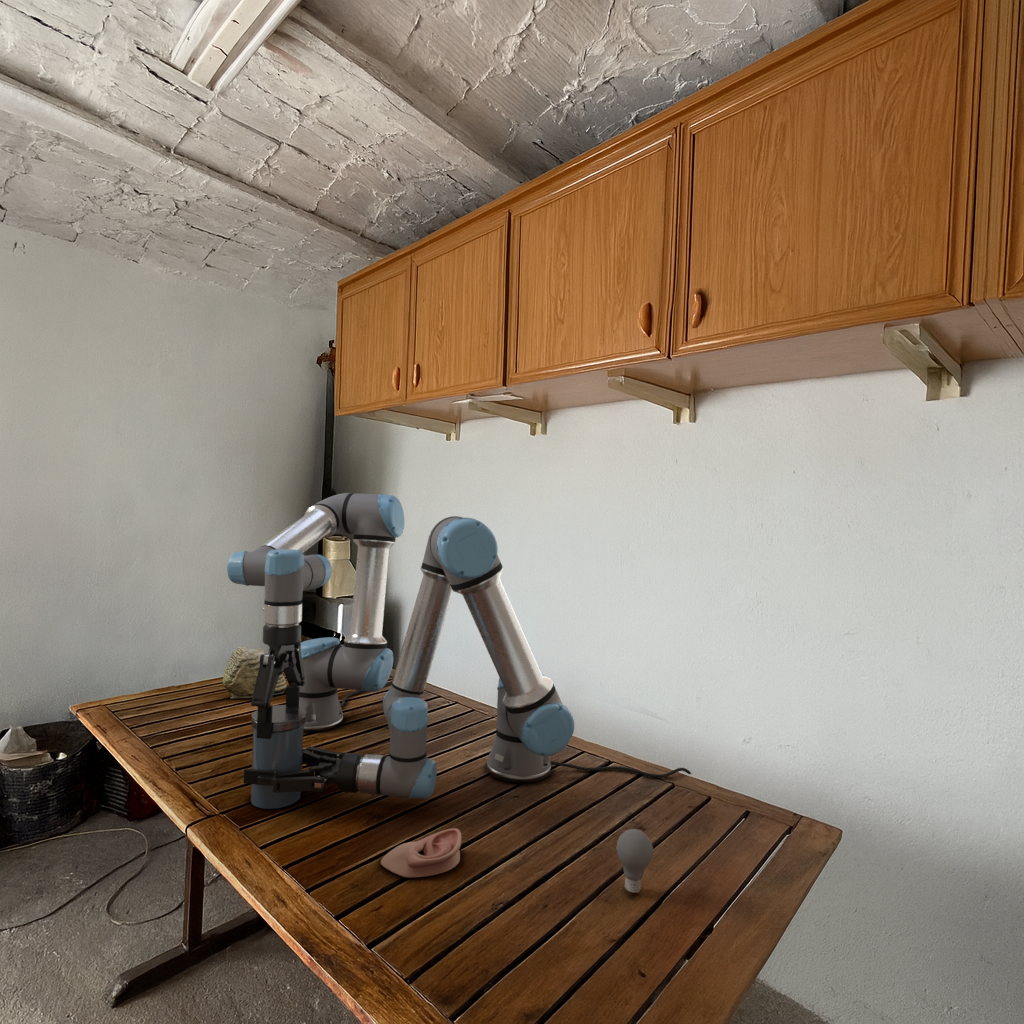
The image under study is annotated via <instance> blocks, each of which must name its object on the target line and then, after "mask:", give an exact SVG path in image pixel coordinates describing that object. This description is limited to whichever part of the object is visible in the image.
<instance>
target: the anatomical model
mask: <svg viewBox="0 0 1024 1024" xmlns="http://www.w3.org/2000/svg"><path fill="white" fill-rule="evenodd" d="M461 846H462V832H461V830H460V829H458V828H455V827H454V828H453V827H452V828H448V829H443V830H440V831H437V832H435V833H433V834H430V835H428V836H426V837H424V838H421V839H419V840H416V841H409V842H404V843H402V844H399V845H397V846H396V847H394V848H392V849H391V850H389V851H388V852H387V853H386V854H385V855H384V856H383V857H382V858H381V860H380V865H381V866H382V867H383V868H384V869H386V870H388V871H390V872H391V873H393V874H395V875H398V876H400V877H402V878H408V879H409V878H423V877H431V876H435V875H439V874H443V873H446V872H449V871H450V870H452V869H454V868H456V867H457V866H458V864H459V863H460V861H461V852H460V849H461Z"/></svg>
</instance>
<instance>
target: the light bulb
mask: <svg viewBox="0 0 1024 1024" xmlns="http://www.w3.org/2000/svg"><path fill="white" fill-rule="evenodd" d="M615 849H616V854H617V857H618V859H619V861H620V863H621V865H622V867H623V873H624V874H623V875H624V876H625V878H624V888H625V890H627V891H628V892H630V893H634V894H635V893H639V892H640V891H641V889H642V887H641V886H642V879H643V877H644V875H645V871H646V868H647V867H648V866H649V864H650V863H651V861H652V859H653V855H654V847H653V843H652V841H651V838H649V836H648V835H647V834H646V833H645V832H643V831H642V830H641V829H636V828H629V829H627V830H625V831H623V832H622V833H621V834H620V835H619V837H618V839H617V841H616V847H615Z"/></svg>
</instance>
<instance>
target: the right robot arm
mask: <svg viewBox="0 0 1024 1024" xmlns="http://www.w3.org/2000/svg"><path fill="white" fill-rule="evenodd" d="M498 549H499V548H498V541H497V539H496V536H495V534H494V533H493V531H492V530H491V529H490V528H489V527H488V525H486V524H485V523H484V522H482V521H480V520H477V519H475V518H472V517H463V516H457V515H456V516H455V515H453V516H448V517H444V518H442V519H441V520H439V521H438V522H437V523H436V524H435V525H434V526H433V527H432V529H431V531H430V533H429V535H428V538H427V543H426V546H425V551H424V555H423V559H422V563H421V566H420V571H421V573H422V579H421V581H420V586H419V589H418V592H417V594H416V595H417V596H416V599H415V602H414V606H413V609H412V613H411V616H410V620H409V622H408V626H407V630H406V633H405V636H404V640H403V643H402V646H401V650H400V653H399V655H398V660H397V663H396V666H395V670H394V672H393V673H394V674H393V677H392V679H391V681H392V683H391V684H390V687H389V690H387V692H386V693H385V694H384V697H383V700H382V712H383V714H384V718H385V719H386V723H387V726H388V730H389V752H388V753H389V755H384V754H383V755H382V754H369V753H366V754H364V755H363V754H362V753H355V752H341V751H334V750H329V749H325V748H322V747H321V748H320V747H316V746H312V745H308V746H306V748H303V758H302V766H303V765H306V766H308V767H309V768H307V769H302V770H301V771H293V772H286V773H278V772H277V770H275V771H269V770H257V769H252V768H244V770H243V784H246V785H251V784H256V785H268V786H273V792H274V793H280V792H301V793H302V792H317V793H323V792H325V786H327V785H336V786H337V789H338V791H339V792H340V793H350V794H357V793H358V792H359V794H365V795H371V796H373V797H375V796H376V795H379V796H387V797H400V798H407V799H428V798H430V797H431V796H432V795H433V793H434V791H435V787H436V782H437V775H438V769H437V762H436V761H435V760H434V759H431V758H429V757H427V740H428V739H427V738H428V724H429V723H428V722H429V711H428V709H429V708H428V703H427V701H426V700H424V699H423V696H424V692H425V688H426V685H427V682H428V678H429V675H430V672H431V668H432V665H433V661H434V658H435V655H436V651H437V648H438V645H439V642H440V638H441V634H442V632H443V627H444V624H445V620H446V617H447V614H448V611H449V608H450V604H451V600H452V598H453V594H454V592H455V593H456V594H460V595H462V597H463V599H464V602H465V603H466V606H467V608H468V610H469V613H470V615H471V617H472V619H473V621H474V624H475V626H476V628H477V630H478V632H479V635H480V637H481V639H482V642H483V644H484V646H485V648H486V650H487V653H488V655H489V657H490V659H491V661H492V664H493V666H494V668H495V671H496V673H497V675H498V677H499V678H498V684H497V687H496V689H497V701H496V703H497V704H496V726H495V727H496V729H495V730H496V731H495V738H494V741H493V744H492V746H491V749H490V751H489V753H488V757H487V761H486V770H487V773H489V775H491V776H492V777H493V778H495V779H497V780H500V781H502V782H507V783H512V784H532V783H533V784H534V783H538V782H540V781H543V780H546V779H547V778H548V777H549V776H550V775H551V773H552V771H551V770H552V765H554V766H559V767H566V768H571V769H576V770H579V771H586V772H600V771H609V770H619V771H627V772H631V773H634V774H638V775H641V776H646V777H649V778H657V779H658V778H660V779H662V778H667V777H670V776H673V775H674V774H676V773H679V772H685V773H686V774H688V775H692V772H691V771H690V770H689V769H688V768H685V767H678V768H675V769H673V770H671V771H669V772H665V773H658V774H657V773H650V772H646V771H642V770H639V769H635V768H631V767H627V766H618V765H617V766H616V765H614V766H613V765H611V766H600V767H599V766H597V767H588V766H587V767H585V766H580V765H575V764H570V763H565V762H559V761H553V760H551V758H550V756H555V755H556V754H558V753H560V752H562V751H563V750H564V749H565V748H566V747H567V746H568V745H569V744H570V742H571V741H572V738H573V736H574V732H575V719H574V716H573V715H572V712H571V711H570V709H569V708H568V707H567V706H566V705H565V704H563V702H562V700H561V698H560V695H559V693H558V690H557V688H556V686H555V685H554V682H553V680H552V678H550V677H548V676H546V675H545V674H542V671H541V669H540V666H539V665H538V662H537V660H536V658H535V655H534V653H533V652H532V649H531V646H530V644H529V642H528V639H527V637H526V635H525V633H524V631H523V628H522V625H521V623H520V621H519V619H518V616H517V614H516V612H515V609H514V607H513V605H512V603H511V600H510V598H509V596H508V594H507V591H506V589H505V587H504V584H503V583H502V582H503V581H502V580H501V576H502V574H503V571H504V567H503V564H502V562H501V560H500V557H499V555H498V552H499V551H498Z"/></svg>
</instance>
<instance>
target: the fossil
mask: <svg viewBox="0 0 1024 1024" xmlns="http://www.w3.org/2000/svg"><path fill="white" fill-rule="evenodd" d="M261 655H268V653H266V652H265V650H264V649H263V648H260V647H258V648H251V647H247V646H246V647H245V646H238V647H237V648H236V649H235V650H233V651H232V653H231V656H230V657H229V659H228V660H227V663H226V666H225V668H224V671H223V675H222V676H223V677H222V685H223V687H224V688H225V690H226V691H228V693H229V698H230V699H250V698H253V694H254V689H255V685H256V680H257V676H258V671H259V667H260V656H261ZM286 687H287V679H286V676H284V674H283V673H282V674H281V675H280V676H279V678H278V682H277V685H276V688H275V691H274V694H273V696H275V695H281V694H284V693H285V692H286Z"/></svg>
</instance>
